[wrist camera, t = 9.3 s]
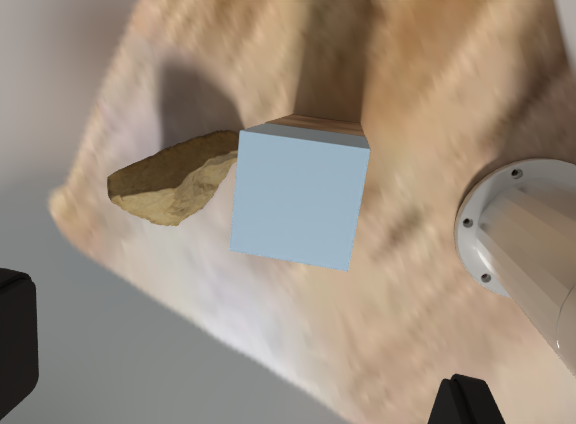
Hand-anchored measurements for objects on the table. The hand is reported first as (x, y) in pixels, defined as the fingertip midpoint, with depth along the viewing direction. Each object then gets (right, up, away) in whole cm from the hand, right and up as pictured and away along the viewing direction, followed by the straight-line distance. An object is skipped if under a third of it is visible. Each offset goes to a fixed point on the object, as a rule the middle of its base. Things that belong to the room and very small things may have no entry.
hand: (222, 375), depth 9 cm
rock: (-7, +7, +30) cm, 31 cm away
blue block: (+3, +6, +16) cm, 17 cm away
